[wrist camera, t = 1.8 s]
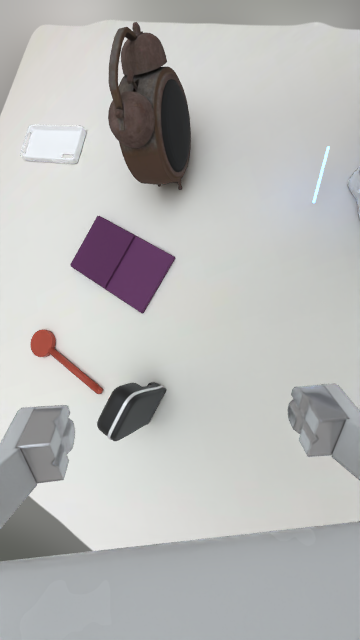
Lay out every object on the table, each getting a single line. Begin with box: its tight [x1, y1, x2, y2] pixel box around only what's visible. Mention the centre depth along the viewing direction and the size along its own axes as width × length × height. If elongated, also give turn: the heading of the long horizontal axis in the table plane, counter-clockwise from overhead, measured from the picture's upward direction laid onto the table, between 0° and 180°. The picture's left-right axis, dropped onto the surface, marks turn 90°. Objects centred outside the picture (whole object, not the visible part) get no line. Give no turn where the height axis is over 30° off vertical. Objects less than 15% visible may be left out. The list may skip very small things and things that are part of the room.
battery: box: [97, 382, 166, 441], centre depth 41 cm, size 7×4×11 cm, turn 151°
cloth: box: [71, 216, 175, 313], centre depth 50 cm, size 11×18×1 cm, turn 57°
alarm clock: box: [108, 22, 191, 190], centre depth 40 cm, size 14×7×20 cm, turn 170°
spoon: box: [31, 330, 103, 394], centre depth 52 cm, size 5×19×1 cm, turn 57°
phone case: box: [20, 125, 86, 164], centre depth 59 cm, size 7×1×15 cm
